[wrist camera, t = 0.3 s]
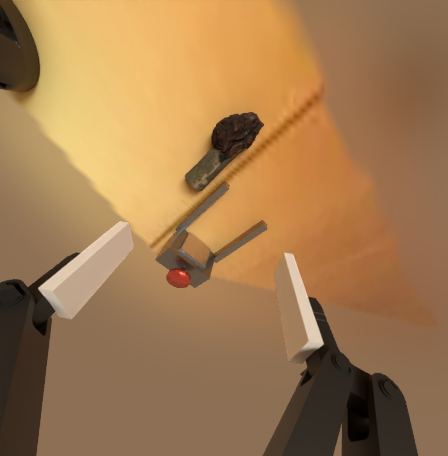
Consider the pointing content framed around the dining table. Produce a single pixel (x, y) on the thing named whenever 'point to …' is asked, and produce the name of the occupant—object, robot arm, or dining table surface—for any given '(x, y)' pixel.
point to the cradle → (198, 248)
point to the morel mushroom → (224, 147)
